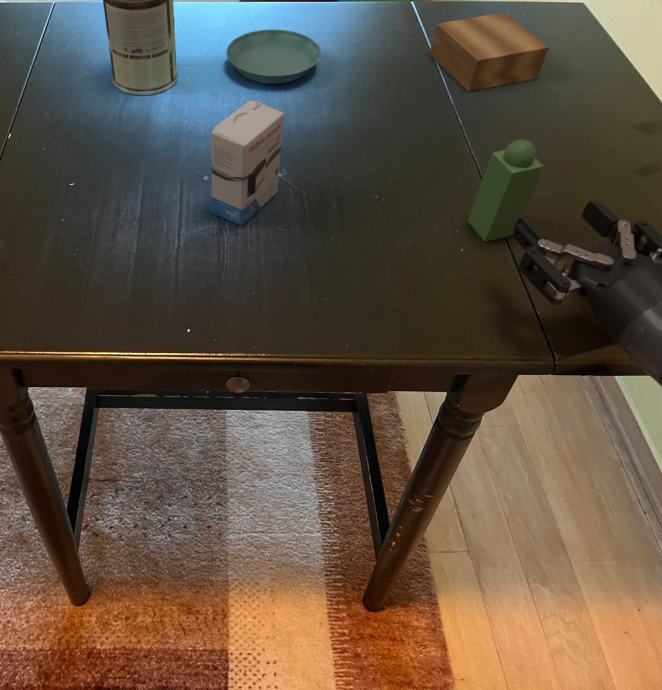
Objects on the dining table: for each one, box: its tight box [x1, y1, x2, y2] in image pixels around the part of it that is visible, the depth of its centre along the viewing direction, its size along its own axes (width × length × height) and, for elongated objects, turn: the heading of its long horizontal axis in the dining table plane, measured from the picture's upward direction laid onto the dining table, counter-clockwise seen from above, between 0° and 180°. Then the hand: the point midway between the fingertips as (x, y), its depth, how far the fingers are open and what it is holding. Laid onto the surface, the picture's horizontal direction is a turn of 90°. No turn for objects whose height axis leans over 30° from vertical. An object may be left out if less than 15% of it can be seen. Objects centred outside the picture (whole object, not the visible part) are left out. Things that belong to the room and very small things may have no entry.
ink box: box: [211, 99, 285, 227], centre depth 83 cm, size 8×5×12 cm, turn 143°
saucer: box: [226, 29, 322, 85], centre depth 108 cm, size 15×15×3 cm
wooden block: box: [428, 12, 550, 93], centre depth 106 cm, size 12×12×5 cm
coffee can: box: [102, 0, 178, 96], centre depth 102 cm, size 10×10×14 cm
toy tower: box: [467, 139, 545, 243], centre depth 79 cm, size 4×4×12 cm
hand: (553, 215), depth 73 cm, fingers open, 8 cm apart
